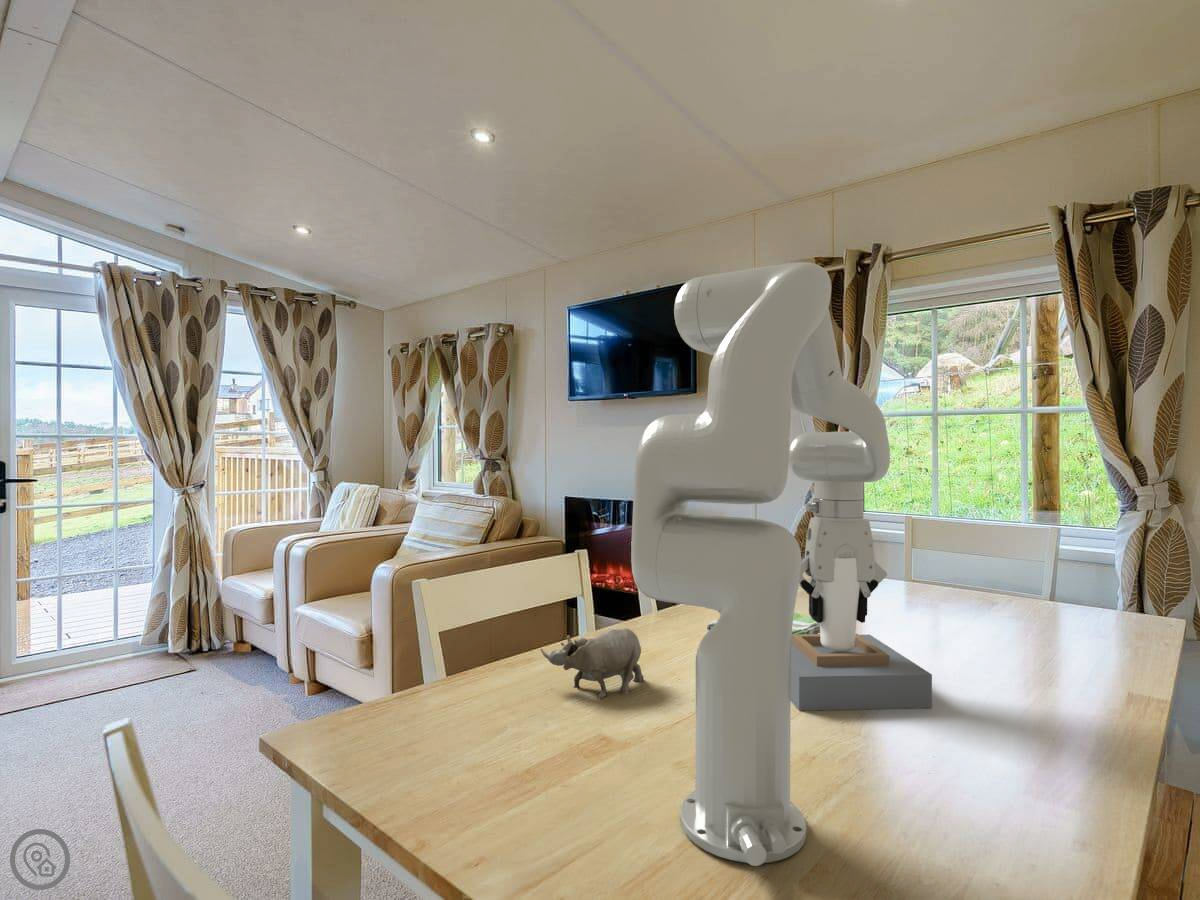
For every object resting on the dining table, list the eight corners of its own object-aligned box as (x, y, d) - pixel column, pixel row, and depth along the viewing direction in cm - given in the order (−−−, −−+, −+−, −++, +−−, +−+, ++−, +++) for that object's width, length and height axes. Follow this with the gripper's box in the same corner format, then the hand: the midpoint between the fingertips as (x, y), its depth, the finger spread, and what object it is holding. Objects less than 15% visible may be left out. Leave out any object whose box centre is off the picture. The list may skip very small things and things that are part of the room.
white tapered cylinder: (863, 654, 102) (864, 559, 102) (818, 651, 103) (819, 557, 103) (855, 642, 108) (856, 552, 108) (813, 639, 110) (813, 550, 110)
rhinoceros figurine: (672, 676, 102) (616, 601, 101) (604, 737, 99) (546, 660, 98) (656, 664, 110) (604, 594, 109) (593, 720, 107) (538, 649, 105)
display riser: (931, 708, 97) (932, 664, 96) (799, 710, 96) (799, 666, 95) (869, 662, 116) (869, 626, 116) (759, 664, 116) (759, 627, 115)
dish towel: (704, 633, 136) (704, 616, 136) (769, 614, 151) (769, 599, 150) (774, 654, 123) (774, 635, 123) (838, 631, 137) (838, 614, 137)
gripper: (794, 512, 101) (793, 627, 102) (902, 512, 102) (901, 626, 102) (778, 508, 109) (778, 615, 109) (879, 507, 110) (878, 614, 110)
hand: (837, 619), depth 106 cm, fingers closed on white tapered cylinder, 6 cm apart
